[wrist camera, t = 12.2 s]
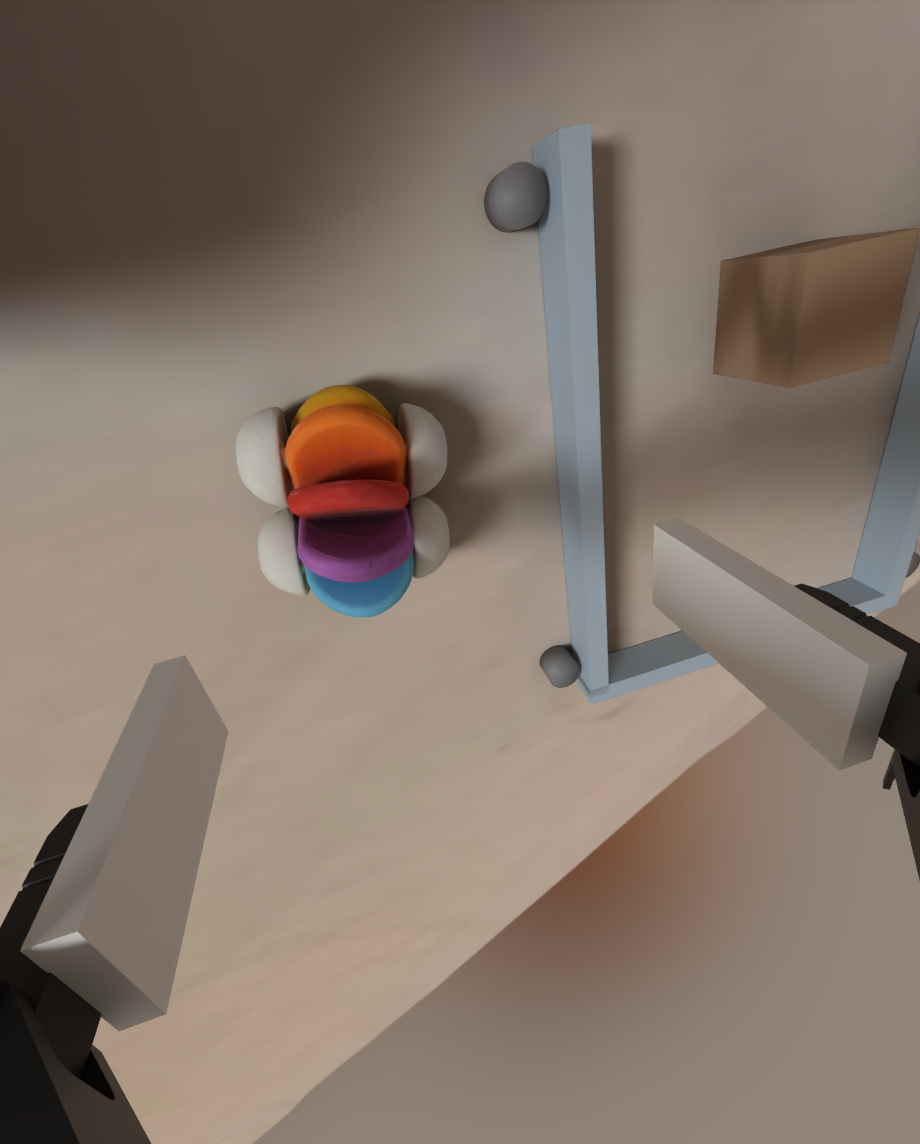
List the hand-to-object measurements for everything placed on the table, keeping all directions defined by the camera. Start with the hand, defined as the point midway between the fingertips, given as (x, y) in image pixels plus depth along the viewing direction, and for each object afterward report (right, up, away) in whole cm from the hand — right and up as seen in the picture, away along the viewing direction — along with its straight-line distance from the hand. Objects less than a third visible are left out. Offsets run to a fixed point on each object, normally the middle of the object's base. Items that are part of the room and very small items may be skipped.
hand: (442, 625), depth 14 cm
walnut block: (+15, +15, +11) cm, 24 cm away
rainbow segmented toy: (-5, +6, +10) cm, 13 cm away
